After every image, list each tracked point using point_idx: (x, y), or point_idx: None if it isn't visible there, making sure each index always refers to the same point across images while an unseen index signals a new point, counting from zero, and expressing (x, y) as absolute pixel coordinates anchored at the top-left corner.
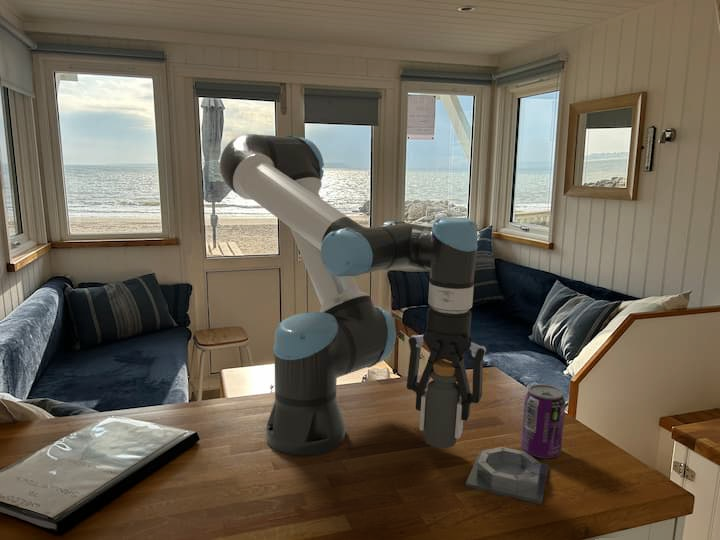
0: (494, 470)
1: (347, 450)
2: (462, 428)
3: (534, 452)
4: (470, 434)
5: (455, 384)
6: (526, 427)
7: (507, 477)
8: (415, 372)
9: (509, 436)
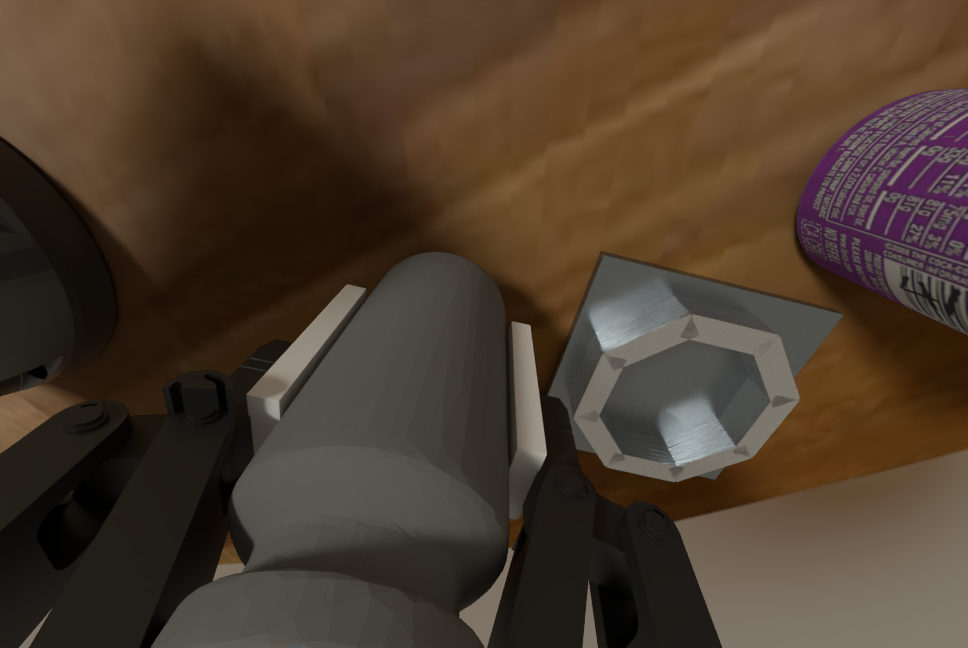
0: (618, 450)
1: (156, 313)
2: (530, 338)
3: (829, 270)
4: (585, 77)
5: (460, 601)
6: (890, 269)
7: (648, 474)
8: (9, 629)
9: (792, 51)
